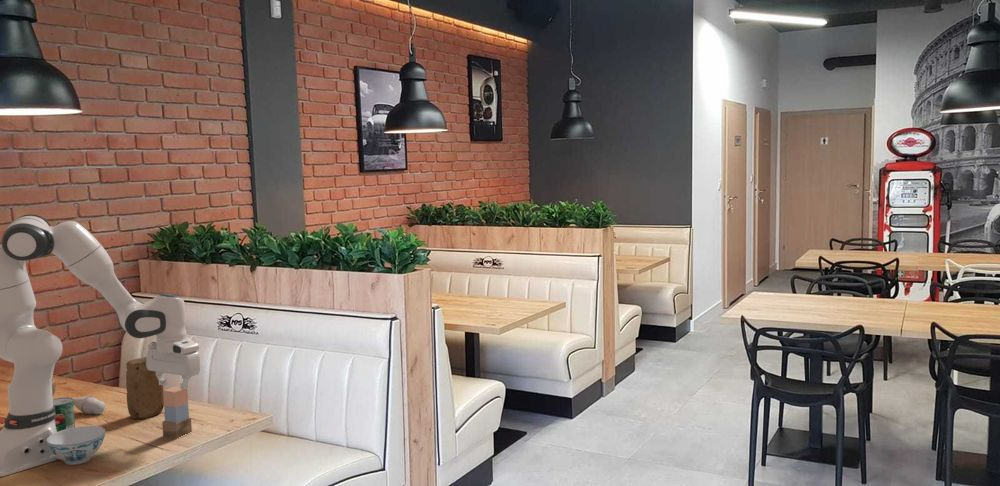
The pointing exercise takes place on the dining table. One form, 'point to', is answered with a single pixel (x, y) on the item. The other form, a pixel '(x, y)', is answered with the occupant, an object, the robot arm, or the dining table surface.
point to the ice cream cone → (89, 405)
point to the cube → (175, 397)
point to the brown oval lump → (143, 390)
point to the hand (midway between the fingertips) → (173, 386)
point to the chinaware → (76, 443)
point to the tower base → (176, 428)
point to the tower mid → (176, 413)
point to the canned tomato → (64, 413)
